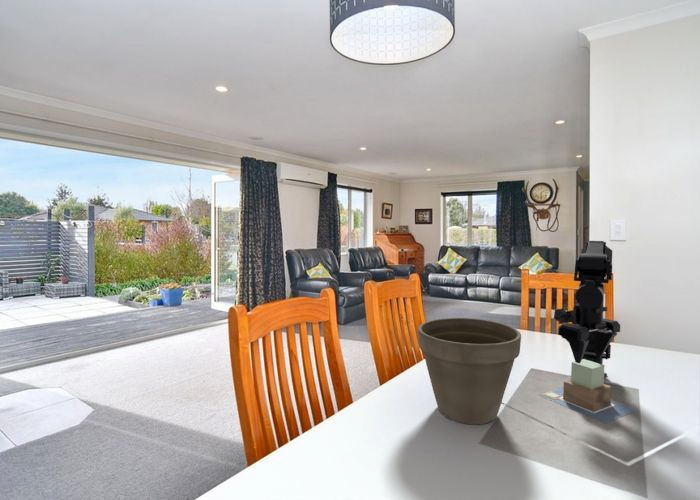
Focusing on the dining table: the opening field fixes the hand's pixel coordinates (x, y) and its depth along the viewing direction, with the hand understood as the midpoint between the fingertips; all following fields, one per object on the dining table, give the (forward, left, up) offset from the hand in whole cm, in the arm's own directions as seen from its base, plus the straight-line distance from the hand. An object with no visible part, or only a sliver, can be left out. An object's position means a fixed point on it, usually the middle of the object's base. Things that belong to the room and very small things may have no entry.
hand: (588, 360), depth 106 cm
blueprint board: (0, 0, -12) cm, 12 cm away
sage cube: (0, 0, -7) cm, 7 cm away
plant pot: (+32, -12, -12) cm, 36 cm away
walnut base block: (0, 0, -12) cm, 12 cm away
